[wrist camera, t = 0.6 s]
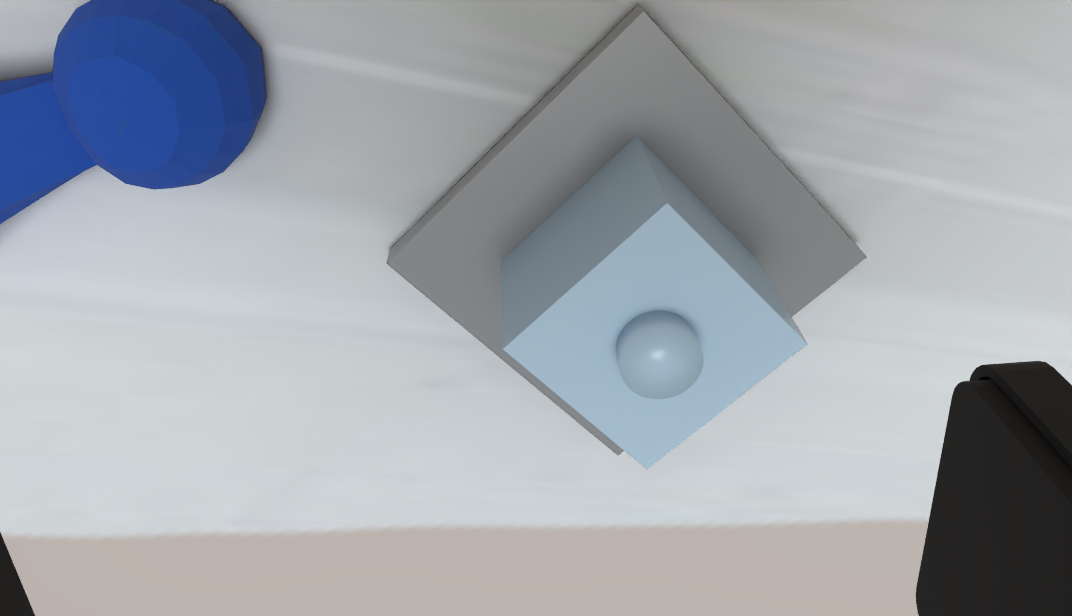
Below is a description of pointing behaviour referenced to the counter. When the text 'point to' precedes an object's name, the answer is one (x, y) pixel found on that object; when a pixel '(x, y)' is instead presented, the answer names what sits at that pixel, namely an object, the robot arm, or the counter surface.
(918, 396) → the counter surface
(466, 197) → the baseplate
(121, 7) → the toy
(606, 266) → the blue brick
